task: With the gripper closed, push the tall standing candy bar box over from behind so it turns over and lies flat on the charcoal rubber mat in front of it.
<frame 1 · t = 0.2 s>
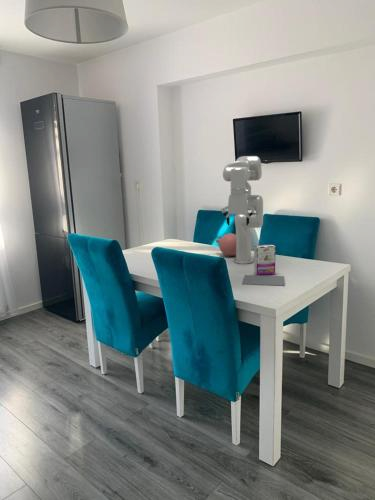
hand: (237, 225, 211), 31 cm above the table, tool pointing down, fingers open, 9 cm apart
candy bar box: (264, 274, 231), on the table, touching rubber mat
balloon: (227, 255, 278), on the table
rubber mat: (263, 280, 219), on the table
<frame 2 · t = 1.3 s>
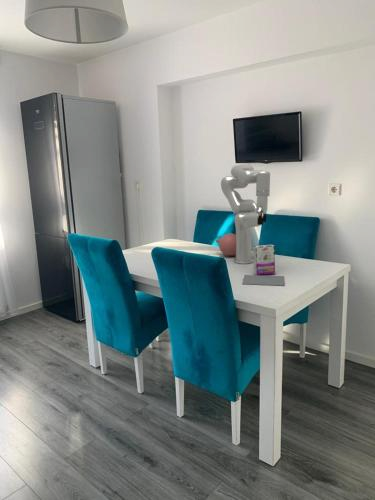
hand: (261, 223, 232), 28 cm above the table, tool pointing down, fingers open, 9 cm apart
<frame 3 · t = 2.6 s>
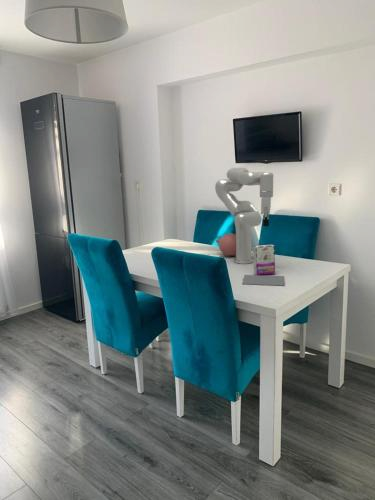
hand: (265, 226, 235), 26 cm above the table, tool pointing down, fingers closed
nothing on the table moved.
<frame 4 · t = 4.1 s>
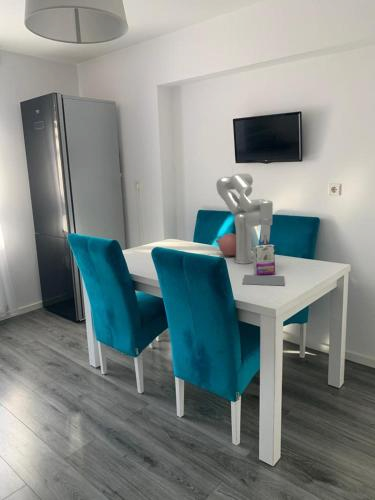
hand: (265, 252, 239), 10 cm above the table, tool pointing down, fingers closed
nothing on the table moved.
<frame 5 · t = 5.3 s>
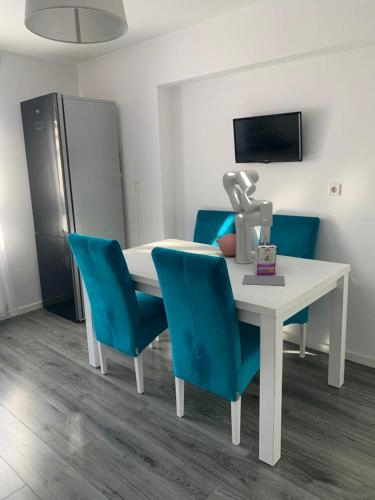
hand: (265, 254, 234), 10 cm above the table, tool pointing down, fingers closed
candy bar box: (264, 274, 231), on the table, touching gripper, rubber mat
everything else where it was.
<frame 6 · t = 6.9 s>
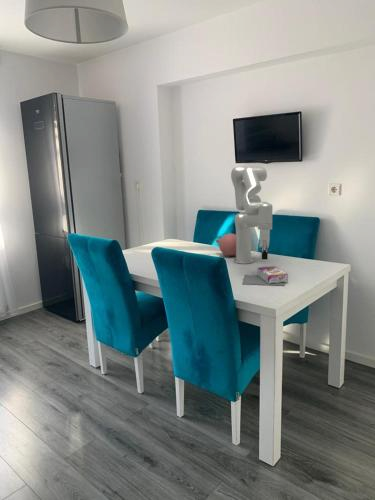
hand: (264, 259, 224), 10 cm above the table, tool pointing down, fingers closed
candy bar box: (266, 270, 228), point 3 cm above the table, touching rubber mat
everything else where it was.
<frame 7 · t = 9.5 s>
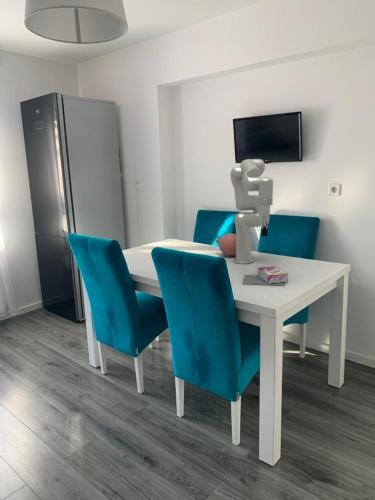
hand: (264, 235, 218), 24 cm above the table, tool pointing down, fingers closed
nothing on the table moved.
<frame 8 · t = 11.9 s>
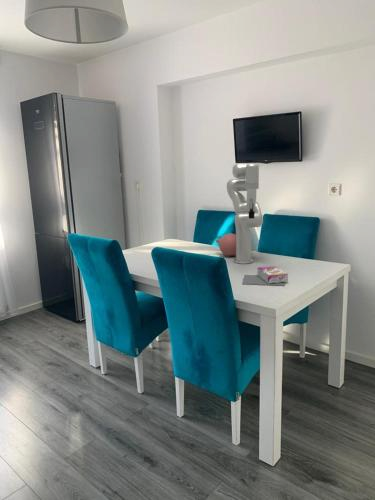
hand: (251, 218, 233), 31 cm above the table, tool pointing down, fingers closed
nothing on the table moved.
at the end: candy bar box tilted 91°; candy bar box touching rubber mat; candy bar box inside the target area (2.1 cm from its centre), point 2.9 cm above the table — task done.
